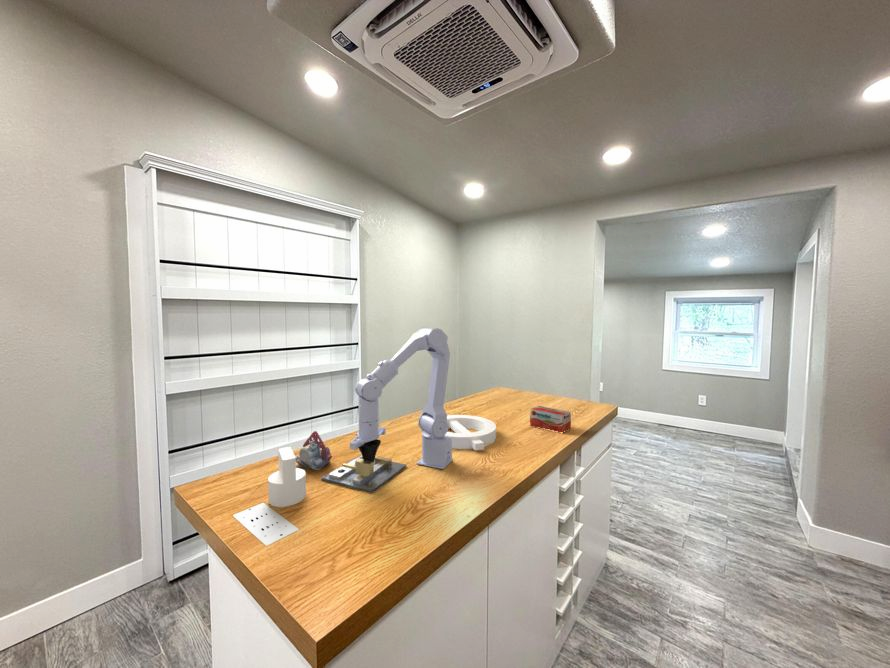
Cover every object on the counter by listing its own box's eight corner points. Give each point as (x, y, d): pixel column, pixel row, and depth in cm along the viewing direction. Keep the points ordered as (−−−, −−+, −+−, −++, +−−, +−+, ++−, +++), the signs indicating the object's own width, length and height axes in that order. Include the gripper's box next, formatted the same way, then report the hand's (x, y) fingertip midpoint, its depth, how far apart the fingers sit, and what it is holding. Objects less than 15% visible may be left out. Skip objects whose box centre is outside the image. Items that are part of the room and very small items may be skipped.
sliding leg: (373, 474, 100) (373, 461, 100) (369, 477, 98) (369, 464, 98) (345, 467, 104) (345, 455, 104) (340, 470, 102) (340, 458, 102)
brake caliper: (343, 453, 115) (326, 431, 108) (323, 484, 107) (303, 463, 101) (319, 447, 120) (301, 426, 113) (298, 476, 113) (277, 455, 106)
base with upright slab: (309, 500, 90) (308, 455, 89) (270, 510, 85) (269, 463, 85) (302, 486, 98) (301, 444, 97) (267, 494, 93) (265, 451, 92)
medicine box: (571, 429, 147) (571, 411, 147) (563, 434, 141) (563, 415, 140) (537, 422, 157) (538, 405, 157) (529, 426, 151) (529, 408, 150)
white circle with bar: (444, 422, 158) (444, 411, 157) (504, 431, 145) (504, 420, 145) (412, 442, 132) (412, 430, 132) (481, 455, 120) (481, 442, 120)
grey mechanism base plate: (406, 467, 110) (406, 457, 110) (372, 493, 94) (372, 481, 93) (360, 457, 117) (360, 448, 117) (321, 480, 101) (321, 469, 101)
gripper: (372, 412, 110) (372, 454, 110) (340, 425, 96) (341, 472, 97) (391, 414, 107) (391, 457, 107) (361, 428, 94) (361, 477, 94)
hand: (369, 465), depth 102 cm, fingers closed
